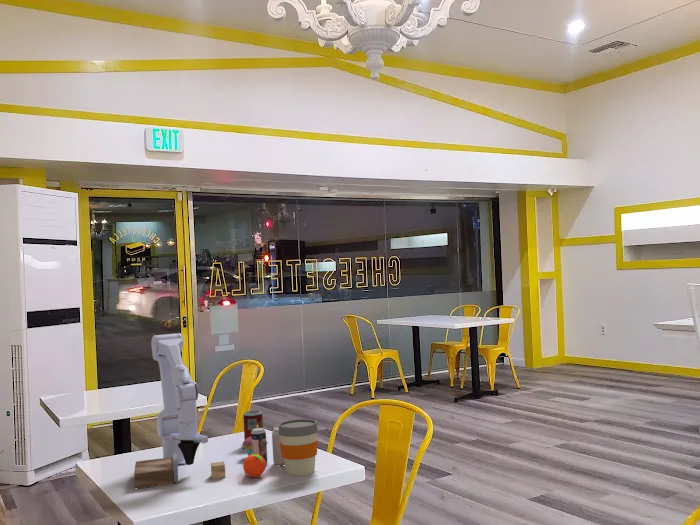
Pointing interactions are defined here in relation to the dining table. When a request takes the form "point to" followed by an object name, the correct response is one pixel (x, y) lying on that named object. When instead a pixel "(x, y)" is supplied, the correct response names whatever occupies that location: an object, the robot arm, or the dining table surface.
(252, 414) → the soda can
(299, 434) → the reusable coffee cup
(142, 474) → the housing
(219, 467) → the block
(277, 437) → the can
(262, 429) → the beer can
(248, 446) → the cupcake
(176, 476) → the tray
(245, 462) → the clementine
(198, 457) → the dining table surface
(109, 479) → the dining table surface
